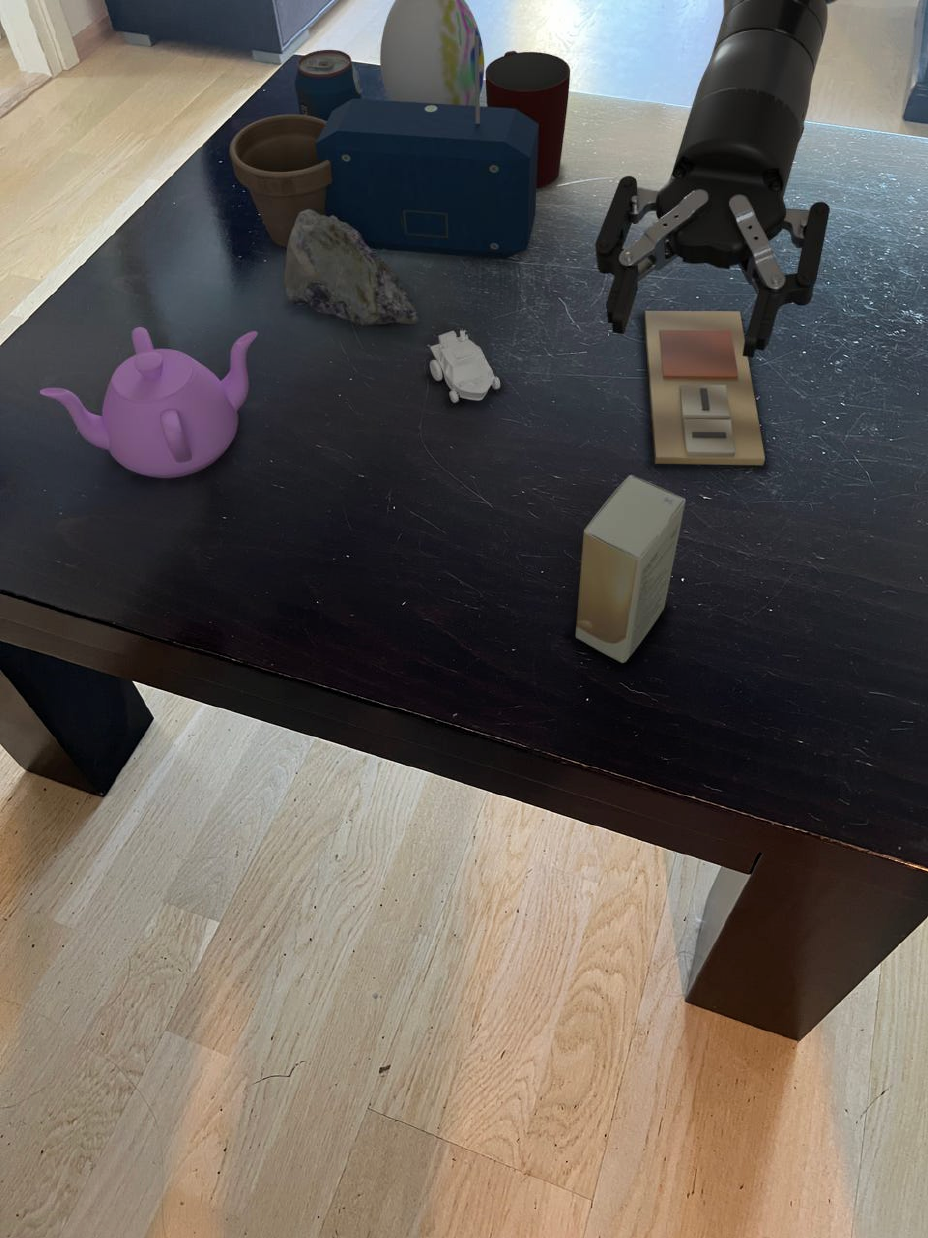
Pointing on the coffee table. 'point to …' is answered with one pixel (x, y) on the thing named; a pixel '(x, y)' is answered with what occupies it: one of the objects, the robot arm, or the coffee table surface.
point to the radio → (433, 175)
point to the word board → (701, 389)
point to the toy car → (462, 367)
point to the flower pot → (282, 170)
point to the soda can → (325, 83)
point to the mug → (534, 100)
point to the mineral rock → (342, 274)
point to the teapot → (164, 409)
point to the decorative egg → (430, 52)
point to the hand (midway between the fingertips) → (682, 338)
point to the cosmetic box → (627, 566)
